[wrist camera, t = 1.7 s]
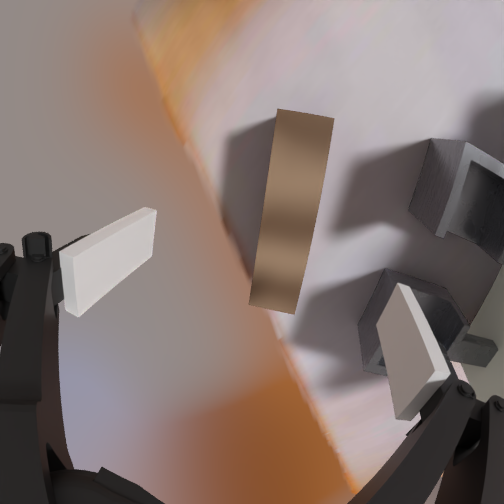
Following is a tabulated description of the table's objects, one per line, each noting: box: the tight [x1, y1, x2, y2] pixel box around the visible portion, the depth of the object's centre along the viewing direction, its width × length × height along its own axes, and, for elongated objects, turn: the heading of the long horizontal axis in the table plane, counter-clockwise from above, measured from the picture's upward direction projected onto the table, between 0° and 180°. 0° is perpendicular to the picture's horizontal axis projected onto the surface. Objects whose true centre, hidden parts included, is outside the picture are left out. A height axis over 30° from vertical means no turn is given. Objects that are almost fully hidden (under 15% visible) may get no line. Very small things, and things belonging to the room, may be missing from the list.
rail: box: [249, 109, 334, 314], centre depth 24 cm, size 16×4×5 cm, turn 172°
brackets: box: [358, 138, 504, 376], centre depth 22 cm, size 20×14×7 cm
